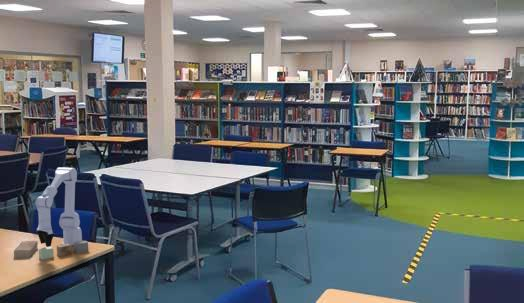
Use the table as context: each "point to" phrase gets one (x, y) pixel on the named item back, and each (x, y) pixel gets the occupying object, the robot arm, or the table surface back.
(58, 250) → the walnut block
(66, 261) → the table surface
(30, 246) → the brick
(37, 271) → the table surface
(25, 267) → the table surface
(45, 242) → the robot arm
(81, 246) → the grey block
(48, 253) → the green block
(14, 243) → the table surface
